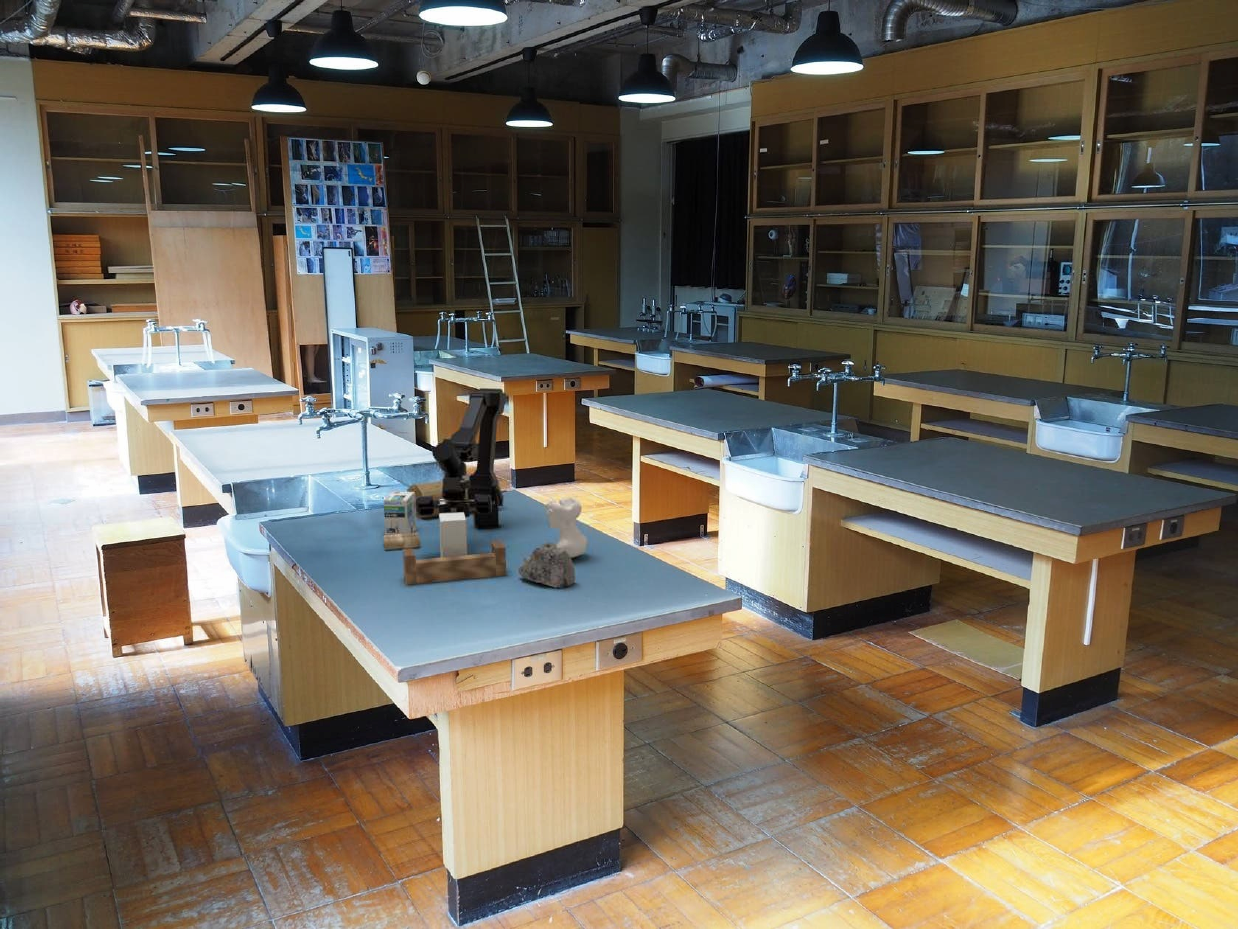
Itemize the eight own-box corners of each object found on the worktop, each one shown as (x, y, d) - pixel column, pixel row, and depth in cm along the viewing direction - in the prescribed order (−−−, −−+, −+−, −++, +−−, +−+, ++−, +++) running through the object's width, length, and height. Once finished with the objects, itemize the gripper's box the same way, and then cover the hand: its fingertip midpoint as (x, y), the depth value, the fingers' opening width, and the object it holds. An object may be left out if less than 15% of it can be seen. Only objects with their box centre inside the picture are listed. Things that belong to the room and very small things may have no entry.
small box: (468, 571, 254) (466, 519, 251) (442, 573, 252) (440, 521, 249) (466, 561, 261) (464, 511, 259) (440, 563, 260) (438, 513, 257)
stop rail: (501, 568, 256) (500, 540, 254) (506, 575, 250) (505, 547, 249) (404, 577, 249) (402, 549, 248) (406, 584, 244) (405, 556, 242)
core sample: (405, 512, 311) (403, 479, 309) (486, 501, 324) (485, 469, 322) (421, 522, 299) (419, 489, 297) (505, 510, 312) (504, 478, 310)
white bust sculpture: (569, 565, 257) (568, 507, 254) (536, 557, 264) (534, 500, 261) (594, 556, 265) (593, 499, 262) (560, 549, 272) (559, 493, 268)
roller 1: (417, 541, 280) (417, 530, 279) (418, 545, 277) (418, 534, 276) (383, 544, 277) (383, 533, 276) (384, 548, 274) (384, 537, 274)
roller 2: (419, 548, 275) (418, 537, 276) (420, 546, 273) (419, 535, 273) (385, 551, 273) (384, 540, 273) (385, 549, 270) (384, 538, 271)
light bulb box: (409, 538, 282) (407, 500, 280) (384, 538, 282) (382, 500, 280) (417, 528, 293) (415, 491, 290) (393, 528, 293) (391, 491, 291)
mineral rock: (516, 578, 248) (514, 537, 246) (556, 571, 253) (555, 531, 251) (538, 593, 237) (537, 551, 235) (580, 586, 242) (579, 544, 240)
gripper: (415, 465, 260) (412, 518, 252) (489, 463, 262) (489, 516, 253) (419, 488, 270) (417, 540, 261) (491, 486, 271) (491, 538, 263)
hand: (453, 533), depth 259 cm, fingers closed
